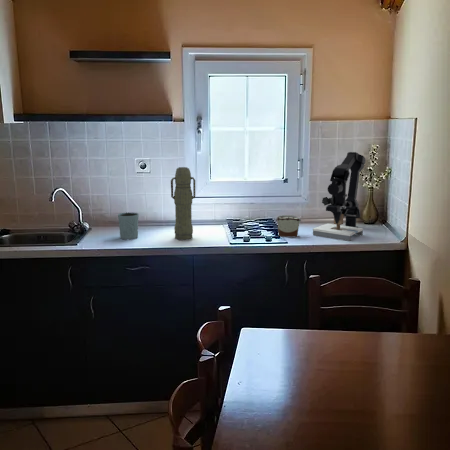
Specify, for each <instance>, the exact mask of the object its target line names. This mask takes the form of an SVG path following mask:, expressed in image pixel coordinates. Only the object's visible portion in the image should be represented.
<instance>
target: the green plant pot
mask: <svg viewBox="0 0 450 450" xmlns="http://www.w3.org/2000/svg"><path fill="white" fill-rule="evenodd" d="M139 215H140V214H139V213H138V212H121V213H118V214H117V218H118V227H119V236H120V237H119V238H120V239H121V240H125V241H126V240H128V241H130V240H133V241H134V240H137V239H138V238H139Z"/></svg>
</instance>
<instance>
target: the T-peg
mask: <svg viewBox="0 0 450 450" xmlns="http://www.w3.org/2000/svg"><path fill="white" fill-rule="evenodd" d="M343 216H344V214H341V217H340V220H339V222H338V224H336V222H335V219H334V218H333V224H335V225H337V226H336V229H335V230H342V229H340V225H343V224H344V218H343Z"/></svg>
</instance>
